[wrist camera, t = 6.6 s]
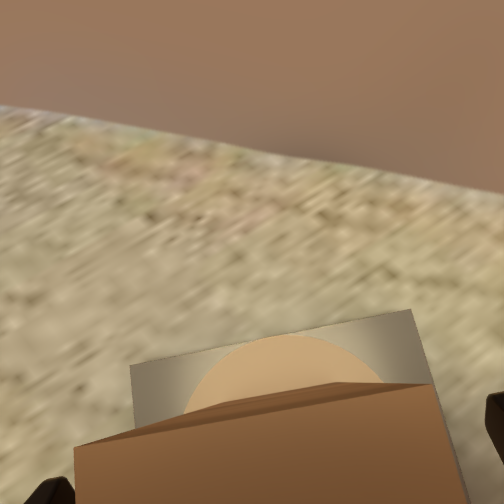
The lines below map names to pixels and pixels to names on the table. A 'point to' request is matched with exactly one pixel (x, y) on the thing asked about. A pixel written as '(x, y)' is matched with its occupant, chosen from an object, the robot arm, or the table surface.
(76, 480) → the walnut block
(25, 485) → the table surface
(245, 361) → the slate board
